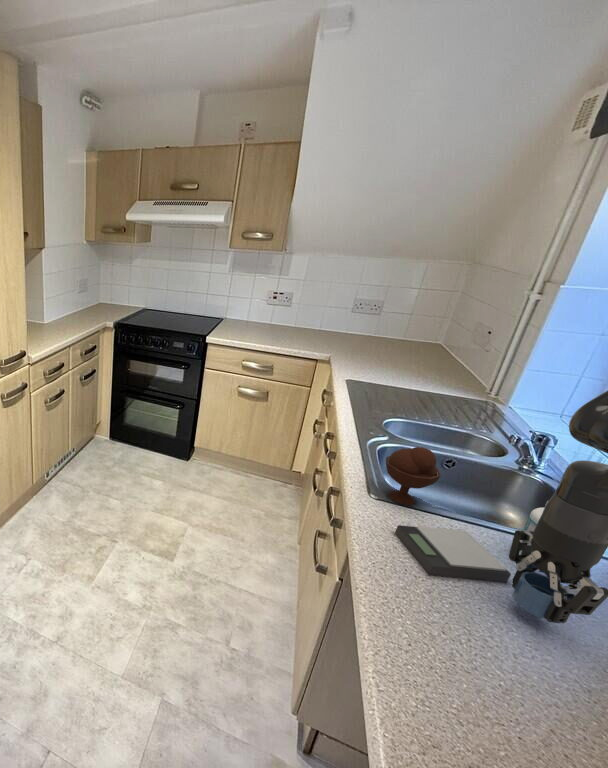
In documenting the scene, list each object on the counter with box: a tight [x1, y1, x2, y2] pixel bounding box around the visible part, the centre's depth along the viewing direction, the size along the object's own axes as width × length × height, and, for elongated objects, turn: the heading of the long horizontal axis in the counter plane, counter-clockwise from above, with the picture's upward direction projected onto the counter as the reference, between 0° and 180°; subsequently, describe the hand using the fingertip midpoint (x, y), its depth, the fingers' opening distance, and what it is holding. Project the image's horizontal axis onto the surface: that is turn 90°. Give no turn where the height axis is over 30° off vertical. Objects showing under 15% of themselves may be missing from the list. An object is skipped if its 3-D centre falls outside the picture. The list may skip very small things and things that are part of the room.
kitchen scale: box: [394, 525, 512, 583], centre depth 85 cm, size 14×12×3 cm
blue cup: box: [511, 571, 567, 620], centre depth 70 cm, size 6×6×5 cm
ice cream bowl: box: [385, 446, 441, 506], centre depth 101 cm, size 11×11×15 cm
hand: (535, 604), depth 71 cm, fingers closed on blue cup, 6 cm apart
